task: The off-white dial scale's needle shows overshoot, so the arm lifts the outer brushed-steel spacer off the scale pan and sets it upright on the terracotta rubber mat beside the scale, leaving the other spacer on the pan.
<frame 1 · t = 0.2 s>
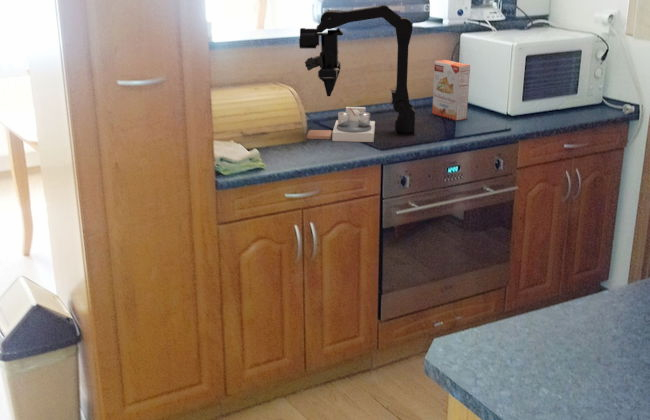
hand: (330, 93, 260), 14 cm above the kitchen counter, fingers open, 9 cm apart
dial scale: (353, 136, 258), on the kitchen counter
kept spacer: (364, 126, 257), point 4 cm above the kitchen counter, touching dial scale
rubber mat: (319, 135, 259), on the kitchen counter
cracker box: (448, 117, 286), on the kitchen counter
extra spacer: (343, 125, 257), point 4 cm above the kitchen counter, touching dial scale
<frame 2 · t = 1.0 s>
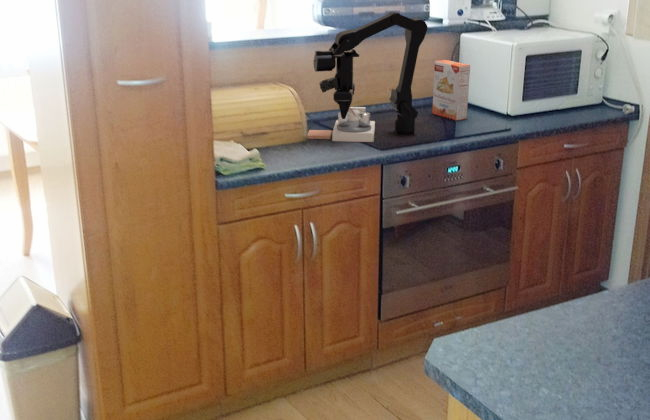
hand: (344, 115, 256), 7 cm above the kitchen counter, fingers open, 9 cm apart
nothing on the kitchen counter moved.
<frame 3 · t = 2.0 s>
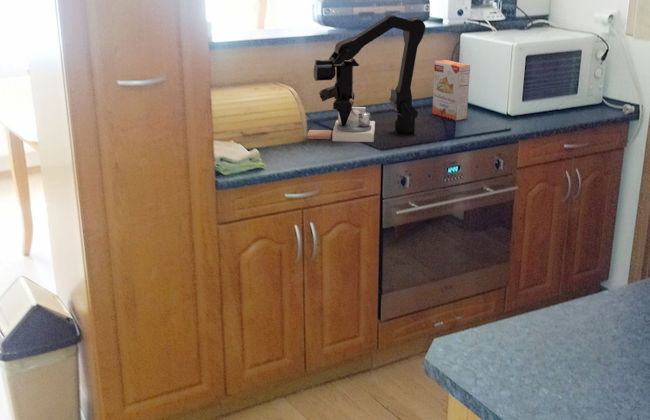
hand: (344, 124, 257), 4 cm above the kitchen counter, fingers closed on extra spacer, 4 cm apart
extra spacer: (343, 125, 257), point 4 cm above the kitchen counter, touching dial scale, gripper
everything else where it was.
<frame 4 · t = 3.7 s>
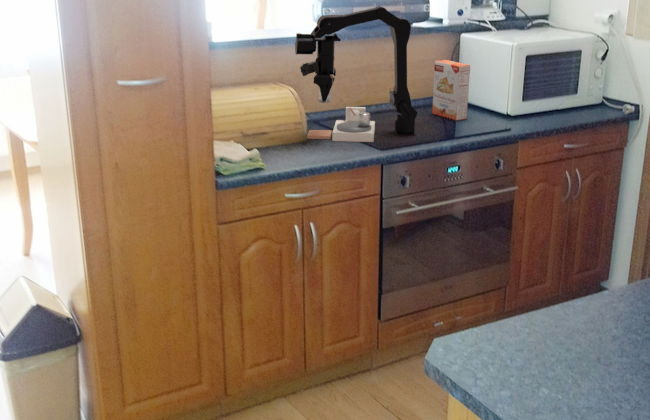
hand: (324, 100, 255), 13 cm above the kitchen counter, fingers closed on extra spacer, 4 cm apart
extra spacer: (324, 101, 255), point 12 cm above the kitchen counter, touching gripper
everything else where it was.
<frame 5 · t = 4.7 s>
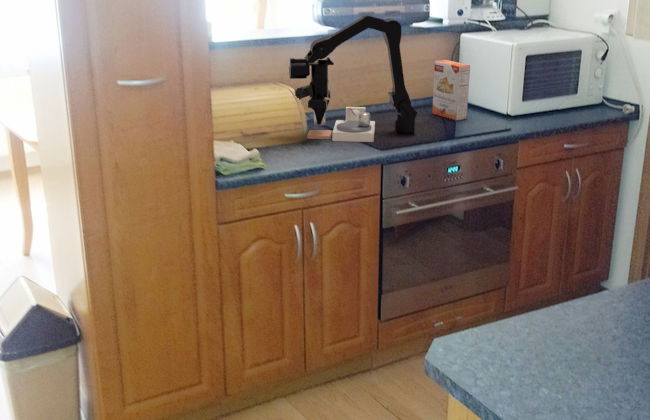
hand: (319, 122, 258), 5 cm above the kitchen counter, fingers closed on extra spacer, 4 cm apart
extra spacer: (319, 124, 258), point 4 cm above the kitchen counter, touching gripper
everything else where it was.
when the fingers open (2 cm above the kitchen counter, at t = 5.4 s): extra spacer stays where it is, resting on rubber mat.
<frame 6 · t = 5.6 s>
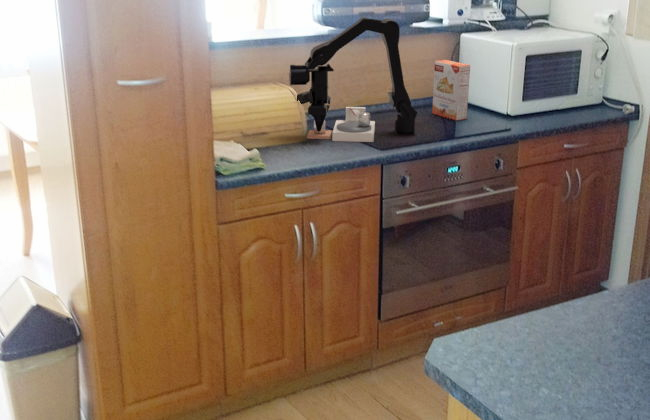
hand: (319, 128, 258), 2 cm above the kitchen counter, fingers open, 6 cm apart
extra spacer: (319, 133, 259), point 1 cm above the kitchen counter, touching rubber mat
everything else where it was.
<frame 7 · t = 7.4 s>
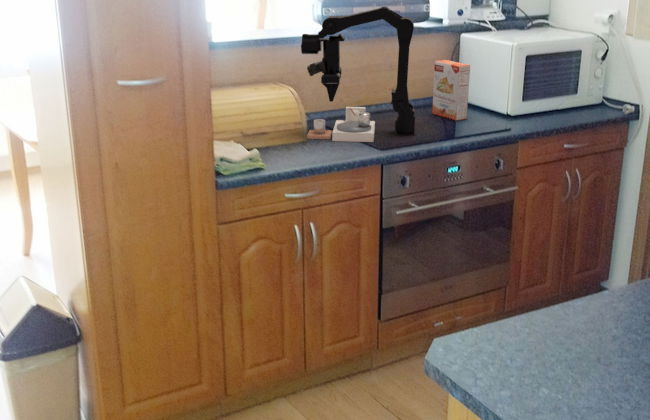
hand: (331, 98, 262), 12 cm above the kitchen counter, fingers open, 9 cm apart
nothing on the kitchen counter moved.
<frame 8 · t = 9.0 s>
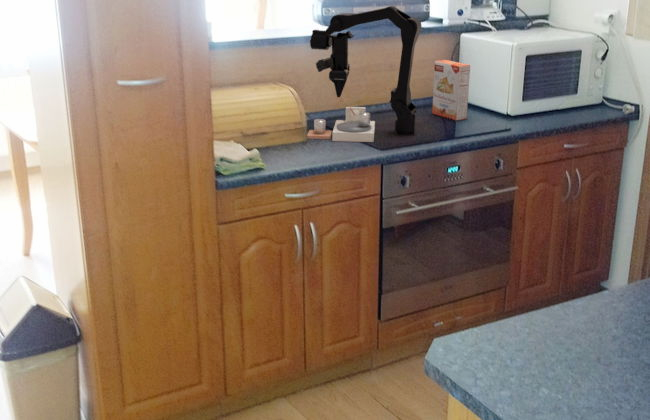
hand: (339, 94, 267), 12 cm above the kitchen counter, fingers open, 9 cm apart
nothing on the kitchen counter moved.
at the end: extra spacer 0.0 cm off-centre on the rubber mat, point 1.0 cm above the rubber mat's base; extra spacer tilted 1°; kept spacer moved 0.0 cm from its start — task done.
